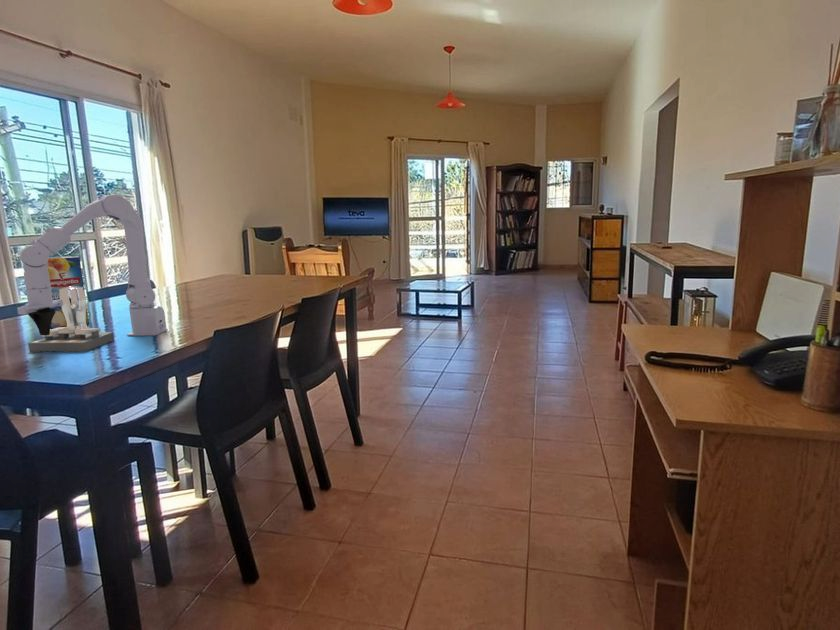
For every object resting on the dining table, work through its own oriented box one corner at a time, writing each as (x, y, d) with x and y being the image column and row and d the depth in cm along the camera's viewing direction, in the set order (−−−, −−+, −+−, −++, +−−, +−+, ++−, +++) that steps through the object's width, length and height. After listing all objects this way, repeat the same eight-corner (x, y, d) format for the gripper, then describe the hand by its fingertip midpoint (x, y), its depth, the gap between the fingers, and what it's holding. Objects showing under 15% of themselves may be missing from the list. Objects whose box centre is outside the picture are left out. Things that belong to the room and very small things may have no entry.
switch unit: (114, 339, 159) (112, 325, 158) (85, 351, 146) (83, 335, 145) (62, 340, 159) (60, 326, 158) (29, 351, 147) (26, 336, 146)
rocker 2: (100, 332, 155) (100, 328, 155) (84, 334, 148) (84, 329, 148) (91, 332, 155) (91, 328, 155) (74, 334, 148) (74, 330, 148)
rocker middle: (84, 333, 155) (84, 329, 155) (67, 333, 148) (67, 328, 148) (75, 333, 155) (75, 329, 155) (57, 333, 148) (58, 328, 148)
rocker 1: (68, 331, 156) (67, 326, 155) (51, 336, 149) (50, 332, 148) (59, 331, 156) (58, 327, 155) (41, 336, 149) (41, 332, 149)
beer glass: (95, 330, 173) (88, 285, 170) (79, 335, 166) (72, 289, 163) (76, 330, 174) (69, 286, 171) (59, 335, 167) (52, 289, 164)
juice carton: (48, 330, 174) (36, 259, 169) (48, 326, 180) (37, 257, 175) (90, 325, 180) (79, 256, 176) (88, 321, 187) (78, 255, 182)
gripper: (44, 285, 153) (50, 329, 156) (3, 291, 139) (11, 340, 141) (67, 284, 153) (73, 329, 155) (29, 291, 139) (36, 340, 141)
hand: (45, 334), depth 148 cm, fingers closed, pressing on rocker 1
